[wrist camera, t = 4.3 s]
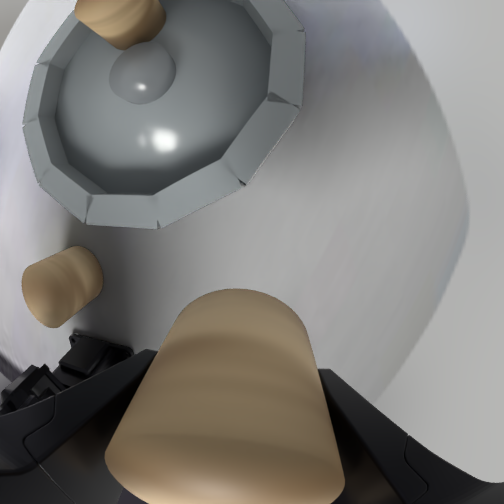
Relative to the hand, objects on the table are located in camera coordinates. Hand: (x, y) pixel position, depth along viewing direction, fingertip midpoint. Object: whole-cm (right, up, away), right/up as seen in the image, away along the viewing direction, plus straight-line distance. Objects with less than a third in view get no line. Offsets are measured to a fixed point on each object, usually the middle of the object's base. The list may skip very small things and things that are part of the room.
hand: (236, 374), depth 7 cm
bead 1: (-13, +2, +11) cm, 17 cm away
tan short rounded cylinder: (-8, +19, +6) cm, 21 cm away
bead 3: (0, 0, +1) cm, 1 cm away
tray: (-6, +15, +8) cm, 18 cm away
